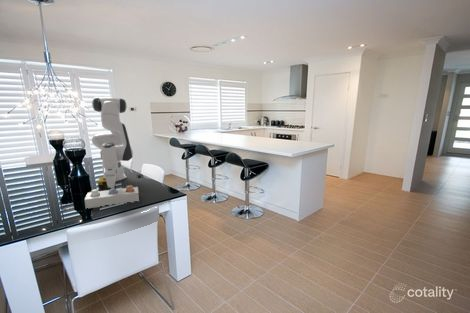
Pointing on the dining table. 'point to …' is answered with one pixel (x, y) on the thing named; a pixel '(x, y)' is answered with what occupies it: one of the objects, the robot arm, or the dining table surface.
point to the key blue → (113, 191)
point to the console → (111, 198)
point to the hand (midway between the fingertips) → (112, 189)
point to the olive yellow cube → (103, 184)
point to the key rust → (129, 188)
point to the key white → (95, 192)
